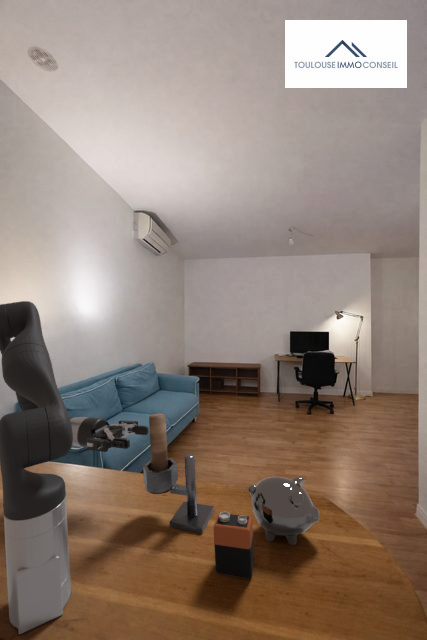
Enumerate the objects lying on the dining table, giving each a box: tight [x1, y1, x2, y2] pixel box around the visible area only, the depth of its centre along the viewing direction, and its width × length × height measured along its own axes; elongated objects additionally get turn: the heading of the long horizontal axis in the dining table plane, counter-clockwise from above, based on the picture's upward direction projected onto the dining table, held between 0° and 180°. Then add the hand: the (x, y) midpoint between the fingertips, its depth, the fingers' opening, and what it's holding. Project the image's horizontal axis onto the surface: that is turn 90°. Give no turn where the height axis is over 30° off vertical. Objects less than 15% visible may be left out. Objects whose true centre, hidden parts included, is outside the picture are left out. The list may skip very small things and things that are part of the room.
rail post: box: [148, 413, 169, 472], centre depth 75 cm, size 4×4×16 cm
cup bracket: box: [142, 453, 215, 534], centre depth 74 cm, size 16×8×15 cm, turn 71°
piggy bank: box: [247, 476, 320, 546], centre depth 66 cm, size 11×15×12 cm
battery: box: [213, 511, 255, 580], centre depth 58 cm, size 4×7×10 cm, turn 75°
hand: (138, 436), depth 77 cm, fingers open, 8 cm apart
